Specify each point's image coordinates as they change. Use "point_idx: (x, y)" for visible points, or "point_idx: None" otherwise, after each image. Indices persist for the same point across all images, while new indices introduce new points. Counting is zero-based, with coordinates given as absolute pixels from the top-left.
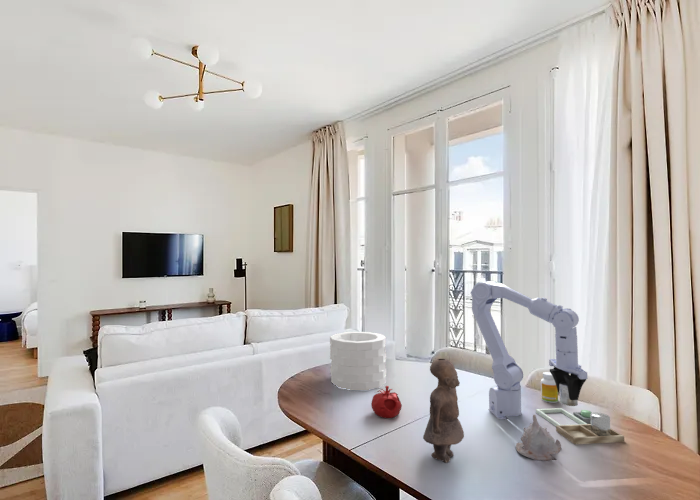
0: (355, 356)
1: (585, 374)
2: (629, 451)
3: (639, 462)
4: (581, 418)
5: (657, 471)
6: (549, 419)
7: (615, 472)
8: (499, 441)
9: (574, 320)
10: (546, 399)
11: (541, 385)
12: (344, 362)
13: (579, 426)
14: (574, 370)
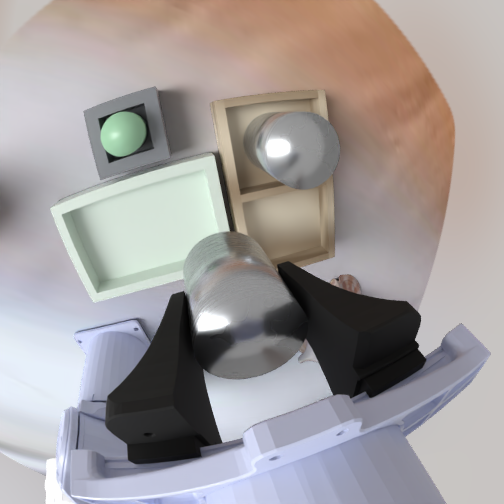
0: None
1: (476, 353)
2: (342, 104)
3: (387, 123)
4: (152, 162)
5: (413, 115)
6: (172, 280)
7: (409, 204)
8: (282, 372)
9: None
10: None
11: None
12: None
13: (240, 203)
14: (432, 415)
